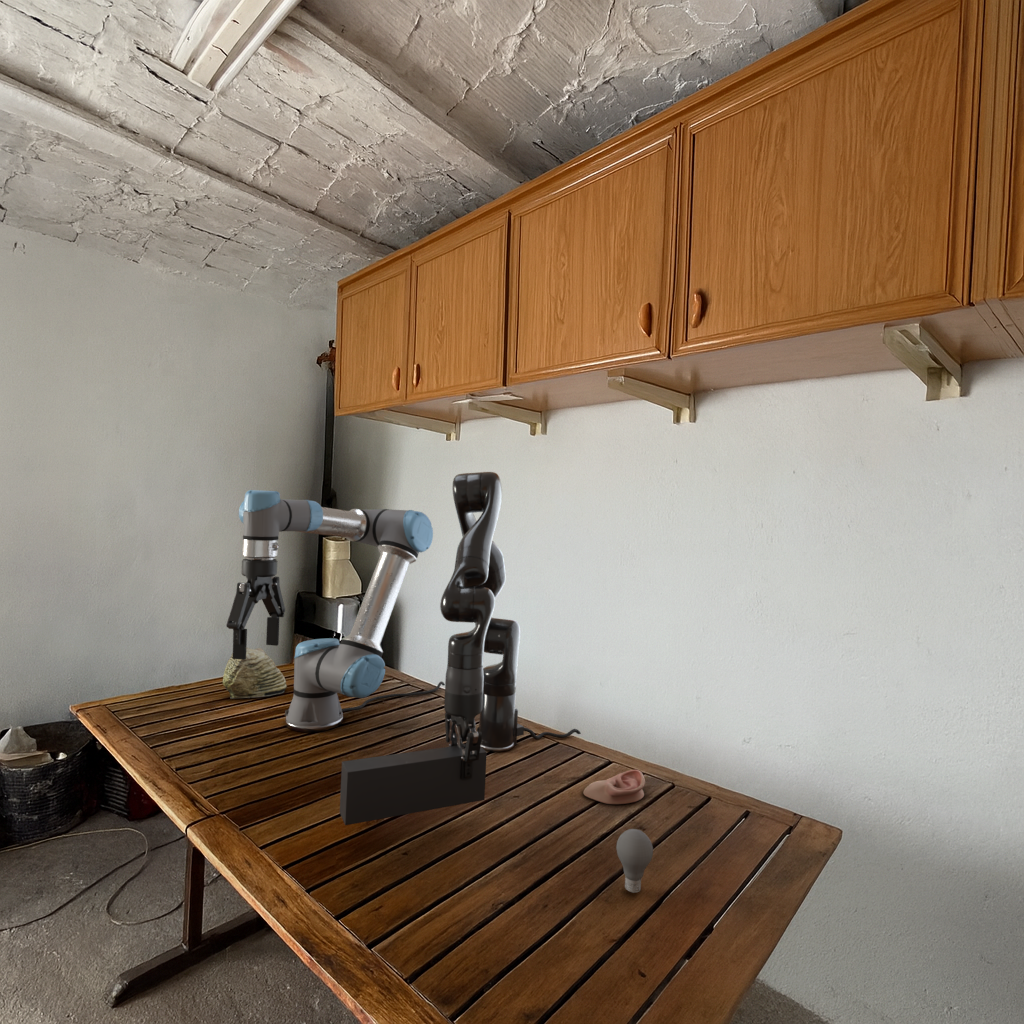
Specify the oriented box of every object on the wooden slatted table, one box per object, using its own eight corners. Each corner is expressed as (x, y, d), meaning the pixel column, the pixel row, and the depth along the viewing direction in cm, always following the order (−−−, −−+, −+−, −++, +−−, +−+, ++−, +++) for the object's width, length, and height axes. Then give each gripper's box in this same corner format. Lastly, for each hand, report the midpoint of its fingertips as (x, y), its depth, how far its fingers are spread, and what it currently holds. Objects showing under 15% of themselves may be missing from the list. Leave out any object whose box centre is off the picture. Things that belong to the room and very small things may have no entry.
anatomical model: (582, 782, 137) (587, 761, 148) (581, 800, 137) (586, 778, 148) (645, 790, 134) (645, 768, 145) (644, 809, 134) (644, 785, 145)
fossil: (218, 695, 195) (220, 647, 195) (278, 685, 208) (279, 640, 207) (228, 703, 189) (230, 653, 188) (289, 692, 201) (290, 645, 201)
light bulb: (610, 879, 108) (613, 822, 108) (644, 879, 109) (647, 822, 109) (619, 902, 102) (622, 840, 102) (655, 901, 103) (658, 840, 103)
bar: (345, 825, 112) (347, 772, 112) (339, 812, 117) (341, 761, 117) (484, 800, 125) (486, 752, 124) (474, 789, 129) (476, 742, 129)
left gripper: (243, 564, 130) (240, 666, 131) (301, 554, 155) (298, 641, 155) (210, 562, 132) (206, 663, 132) (273, 553, 156) (270, 638, 157)
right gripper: (496, 696, 120) (492, 785, 120) (468, 676, 133) (464, 756, 133) (459, 700, 116) (455, 792, 117) (434, 679, 129) (430, 761, 130)
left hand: (256, 651), depth 144 cm, fingers open, 13 cm apart
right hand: (460, 772), depth 125 cm, fingers closed on bar, 5 cm apart
